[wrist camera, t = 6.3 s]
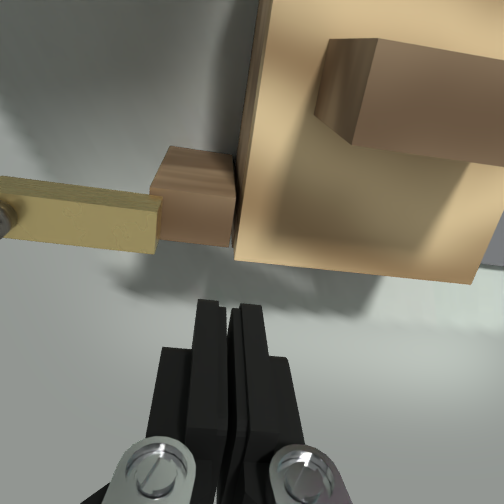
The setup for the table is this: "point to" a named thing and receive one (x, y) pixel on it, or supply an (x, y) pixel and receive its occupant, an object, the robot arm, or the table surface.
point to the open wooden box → (208, 174)
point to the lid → (376, 138)
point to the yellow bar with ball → (79, 215)
